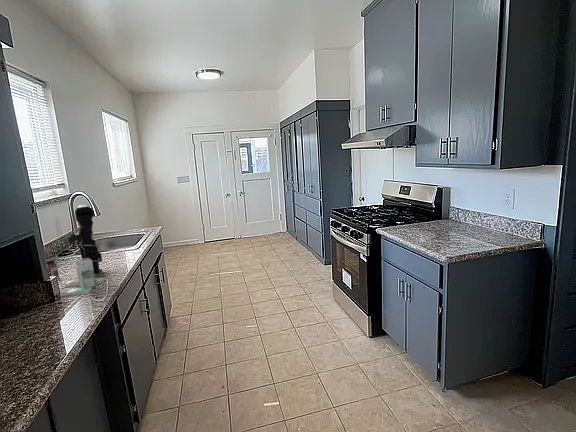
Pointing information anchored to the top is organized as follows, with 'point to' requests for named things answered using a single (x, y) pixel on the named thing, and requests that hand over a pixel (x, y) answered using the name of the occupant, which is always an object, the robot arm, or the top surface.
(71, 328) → the top surface
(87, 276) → the syrup box
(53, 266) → the supplement bottle
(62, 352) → the top surface
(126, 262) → the top surface
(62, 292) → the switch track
